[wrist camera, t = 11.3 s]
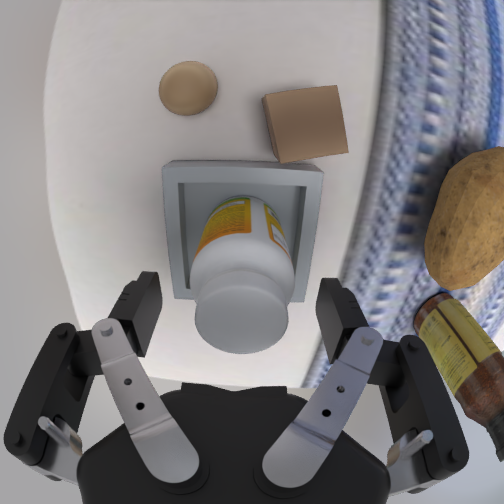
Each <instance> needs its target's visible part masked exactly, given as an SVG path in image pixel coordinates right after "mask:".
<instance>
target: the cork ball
mask: <svg viewBox="0 0 504 504" xmlns="http://www.w3.org/2000/svg"><path fill="white" fill-rule="evenodd" d="M217 89H218V84H217V79H216V76H215V74H214V73H213V71H212V70H211V69H210V68H209V67H207V66H206V65H204V64H202V63H199V62H195V61H186V62H181V63H178V64H176V65H174V66H173V67H171V68H170V69H169V70H168V71H167V72H166V73H165V74H164V75H163V77H162V79H161V81H160V85H159V96H160V99H161V101H162V103H163V105H164V106H165V107H166V108H167V109H168V110H169V111H171V112H173V113H175V114H178V115H184V116H188V115H194V114H197V113H200V112H202V111H204V110H205V109H206V108H208V107H209V106H210V105H211V103H212V102H213V101H214V99H215V97H216V94H217Z"/></svg>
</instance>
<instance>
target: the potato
mask: <svg viewBox="0 0 504 504" xmlns="http://www.w3.org/2000/svg"><path fill="white" fill-rule="evenodd" d="M424 246H425V263H426V266H427V269H428V272H429V274H430V275H431V277H432V278H433V279H434V280H435V281H436V282H437V283H438V284H439V285H440V286H441V287H443V288H445V289H447V290H449V291H452V290H456V289H461V288H465V287H469V286H473V285H475V284H476V283H478V282H479V281H480V280H481V279H482V278H484V277H485V276H486V275H487V274H488V273H490V272H491V271H492V270H493V269H494V268H495V267H497V266H498V265H499V264H500V263H501V262H502V261H503V260H504V147H500V146H498V147H494V148H491V149H487V150H483V151H479V152H474V153H471V154H470V155H468V156H467V157H465V158H464V159H462V160H461V161H459V162H458V163H457V164H456V165H454V166H453V167H452V168H451V169H449V171H448V173H447V175H446V177H445V179H444V181H443V183H442V185H441V188H440V192H439V195H438V199H437V202H436V206H435V208H434V211H433V214H432V217H431V220H430V222H429V225H428V229H427V233H426V237H425V242H424Z"/></svg>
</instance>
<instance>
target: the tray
mask: <svg viewBox="0 0 504 504" xmlns="http://www.w3.org/2000/svg"><path fill="white" fill-rule="evenodd" d="M323 175H324V172H323V171H321V170H320V169H319V168H318V167H316V166H315V165H308V164H296V163H283V164H280V162H264V161H236V160H182V161H171V162H169V163H168V164H166V165H165V166H164V167H162V180H163V197H164V211H165V223H166V233H167V243H168V253H169V261H170V269H171V277H172V284H173V292H174V298H175V299H190V300H194V298H193V296H192V292H191V288H190V273H191V268H192V264H193V261H194V257H195V254H196V251H197V248H198V245H199V243H200V240H201V237H202V234H203V231H204V228H205V225H206V222H207V220H208V218H209V216H210V214H211V212H212V211H213V210H214V209H215V208H216V207H217V206H218V205H219V204H220V203H222V202H223V201H225V200H227V199H230V198H233V197H238V196H249V197H254V198H257V199H260V200H262V201H264V202H265V203H267V204H268V205H269V206H270V207H271V208H272V209H273V210H274V211H275V213H276V214H277V216H278V218H279V220H280V223H281V226H282V230H283V233H284V236H285V240H286V244H287V247H288V251H289V254H290V257H291V261H292V264H293V268H294V275H295V289H294V293H293V296H292V299H291V301H290V302H304V299H305V294H306V289H307V283H308V278H309V272H310V266H311V260H312V254H313V248H314V242H315V235H316V228H317V222H318V214H319V207H320V200H321V192H322V184H323Z"/></svg>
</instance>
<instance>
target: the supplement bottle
mask: <svg viewBox="0 0 504 504" xmlns="http://www.w3.org/2000/svg"><path fill="white" fill-rule="evenodd" d="M190 288H191V292H192V296H193V298H194V300H195V302H196V304H197V306H196V311H195V325H196V328H197V330H198V332H199V334H200V335H201V337H202V338H203V339H204V340H205V341H206V342H207V343H209V344H210V345H212V346H213V347H215V348H217V349H219V350H222V351H225V352H229V353H235V354H249V353H255V352H259V351H262V350H265V349H267V348H269V347H271V346H273V345H274V344H276V343H277V342H278V341H279V340H280V339H281V338H282V336H283V335H284V333H285V331H286V329H287V326H288V310H287V306H288V304H289V303H290V301H291V299H292V296H293V293H294V289H295V275H294V268H293V264H292V261H291V257H290V254H289V251H288V247H287V244H286V240H285V236H284V233H283V230H282V226H281V223H280V220H279V218H278V216H277V214H276V213H275V211H274V210H273V209H272V208H271V207H270V206H269V205H268V204H267V203H265V202H264V201H262V200H260V199H257V198H254V197H249V196H238V197H233V198H230V199H227V200H225V201H223V202H222V203H220V204H219V205H218V206H217V207H216V208H215V209H214V210H213V211H212V212H211V214H210V216H209V218H208V220H207V222H206V225H205V228H204V231H203V234H202V237H201V240H200V243H199V245H198V248H197V251H196V254H195V257H194V261H193V264H192V268H191V273H190Z"/></svg>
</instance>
